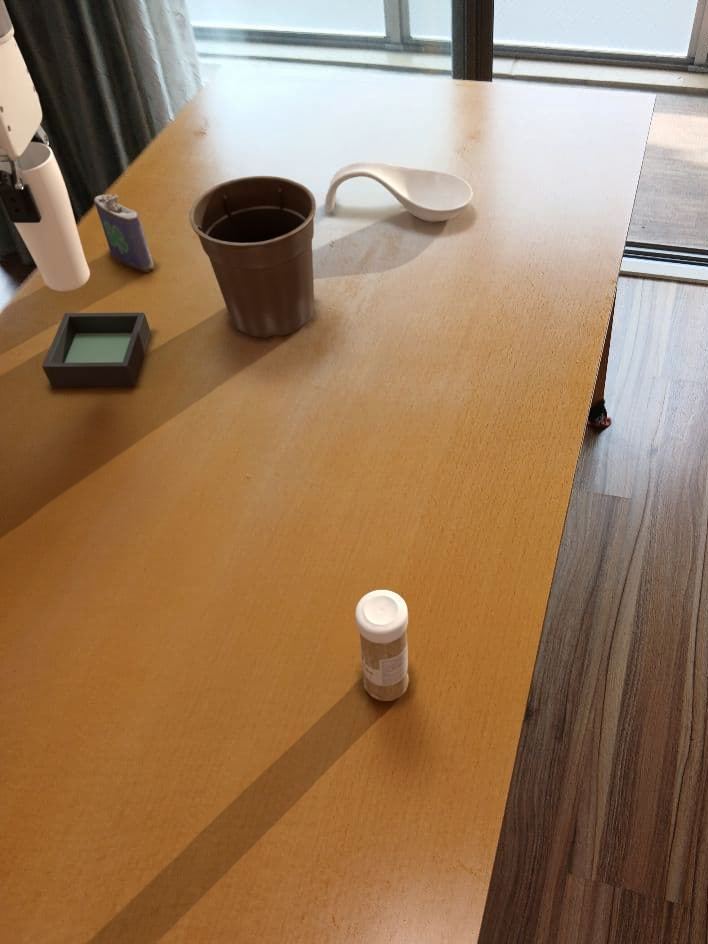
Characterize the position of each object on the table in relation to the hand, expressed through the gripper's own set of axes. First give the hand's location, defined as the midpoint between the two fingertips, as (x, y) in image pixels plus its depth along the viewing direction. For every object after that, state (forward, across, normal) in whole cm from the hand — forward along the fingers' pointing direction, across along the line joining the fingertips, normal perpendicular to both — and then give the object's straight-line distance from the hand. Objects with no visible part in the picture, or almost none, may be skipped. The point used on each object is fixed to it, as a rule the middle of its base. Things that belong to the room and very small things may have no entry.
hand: (36, 200), depth 89 cm
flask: (+26, -27, -3) cm, 37 cm away
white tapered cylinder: (+10, 0, 0) cm, 10 cm away
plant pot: (+25, -14, +20) cm, 36 cm away
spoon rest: (+25, -40, +38) cm, 61 cm away
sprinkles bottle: (+25, +45, +39) cm, 64 cm away
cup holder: (+25, -4, -2) cm, 26 cm away
